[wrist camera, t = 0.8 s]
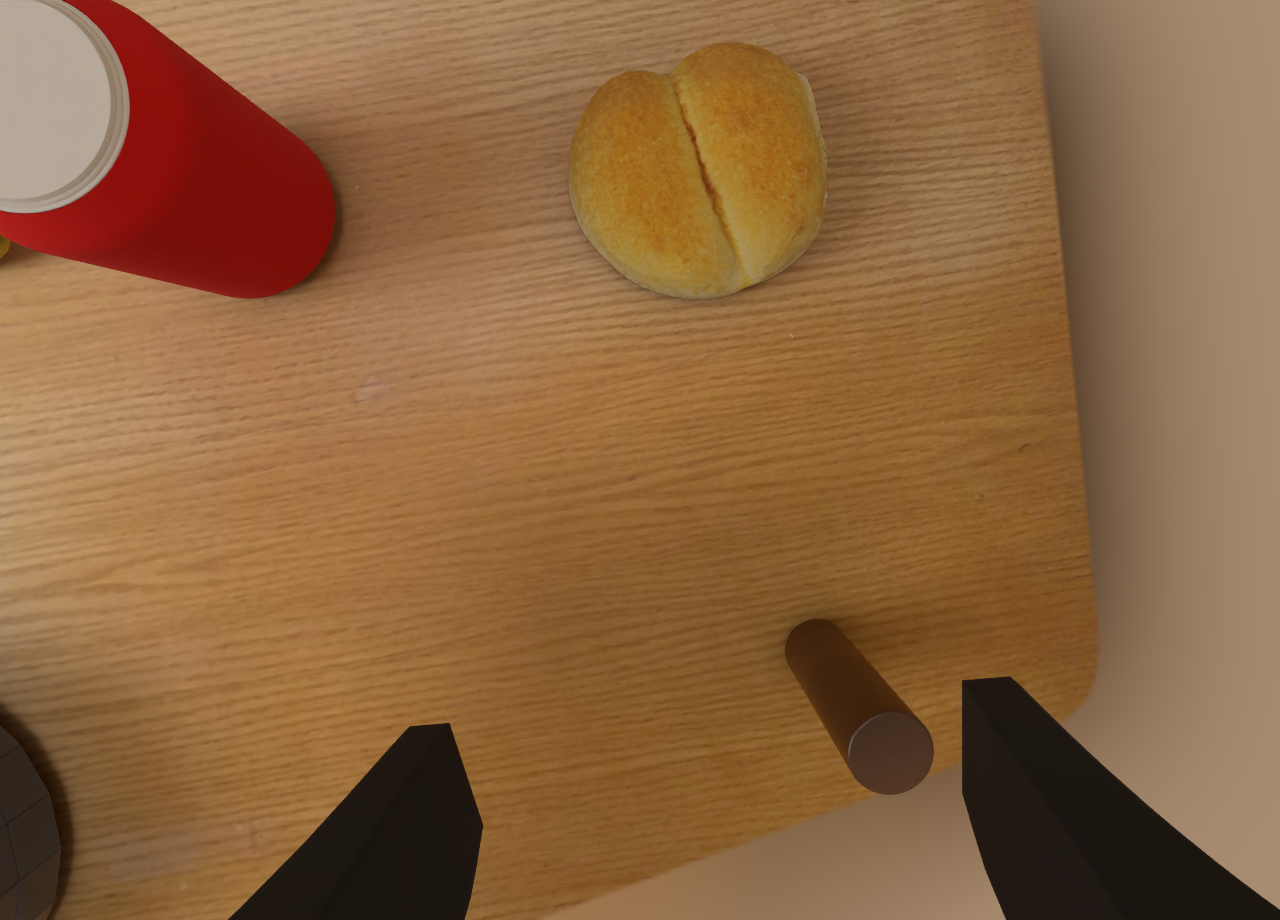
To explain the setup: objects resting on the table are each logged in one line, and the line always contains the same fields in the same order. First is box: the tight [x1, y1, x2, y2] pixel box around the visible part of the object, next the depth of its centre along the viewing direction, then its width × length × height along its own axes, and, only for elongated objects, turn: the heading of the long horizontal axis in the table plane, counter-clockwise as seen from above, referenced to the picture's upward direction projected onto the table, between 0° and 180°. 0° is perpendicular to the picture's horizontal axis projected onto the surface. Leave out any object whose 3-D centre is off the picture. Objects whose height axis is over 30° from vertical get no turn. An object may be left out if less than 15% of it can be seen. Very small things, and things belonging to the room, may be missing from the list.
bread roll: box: [568, 43, 828, 300], centre depth 28 cm, size 8×9×4 cm
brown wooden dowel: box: [785, 620, 934, 795], centre depth 27 cm, size 2×2×9 cm
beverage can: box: [0, 0, 335, 299], centre depth 24 cm, size 6×6×12 cm
